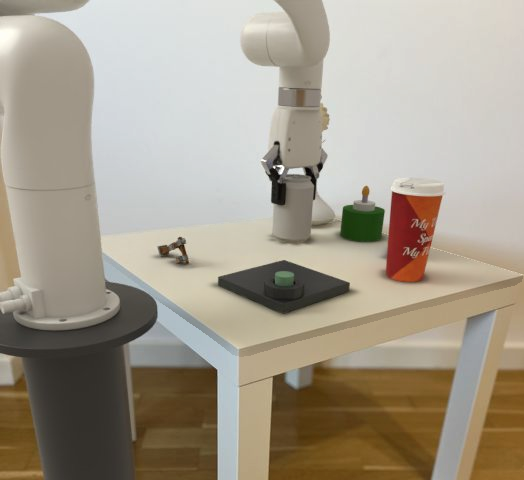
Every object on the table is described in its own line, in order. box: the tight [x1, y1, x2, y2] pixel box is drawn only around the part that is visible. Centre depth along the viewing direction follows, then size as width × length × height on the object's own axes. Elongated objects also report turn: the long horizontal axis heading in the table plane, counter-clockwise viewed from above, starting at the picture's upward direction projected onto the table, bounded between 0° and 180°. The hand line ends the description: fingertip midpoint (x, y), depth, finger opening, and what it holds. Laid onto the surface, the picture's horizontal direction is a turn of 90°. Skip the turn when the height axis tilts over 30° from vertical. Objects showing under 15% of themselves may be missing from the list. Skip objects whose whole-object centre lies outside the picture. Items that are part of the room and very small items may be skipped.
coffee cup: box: [385, 177, 446, 283], centre depth 86 cm, size 8×8×15 cm
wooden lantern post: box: [156, 236, 190, 265], centre depth 92 cm, size 2×8×4 cm, turn 39°
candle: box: [339, 185, 386, 243], centre depth 109 cm, size 8×8×10 cm
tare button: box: [275, 271, 294, 286], centre depth 76 cm, size 3×3×2 cm
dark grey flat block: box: [217, 259, 351, 314], centre depth 82 cm, size 14×14×3 cm
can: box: [271, 173, 314, 244], centre depth 105 cm, size 8×8×12 cm
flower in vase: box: [311, 102, 336, 226], centre depth 115 cm, size 13×11×25 cm
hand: (293, 201), depth 104 cm, fingers closed on can, 7 cm apart
